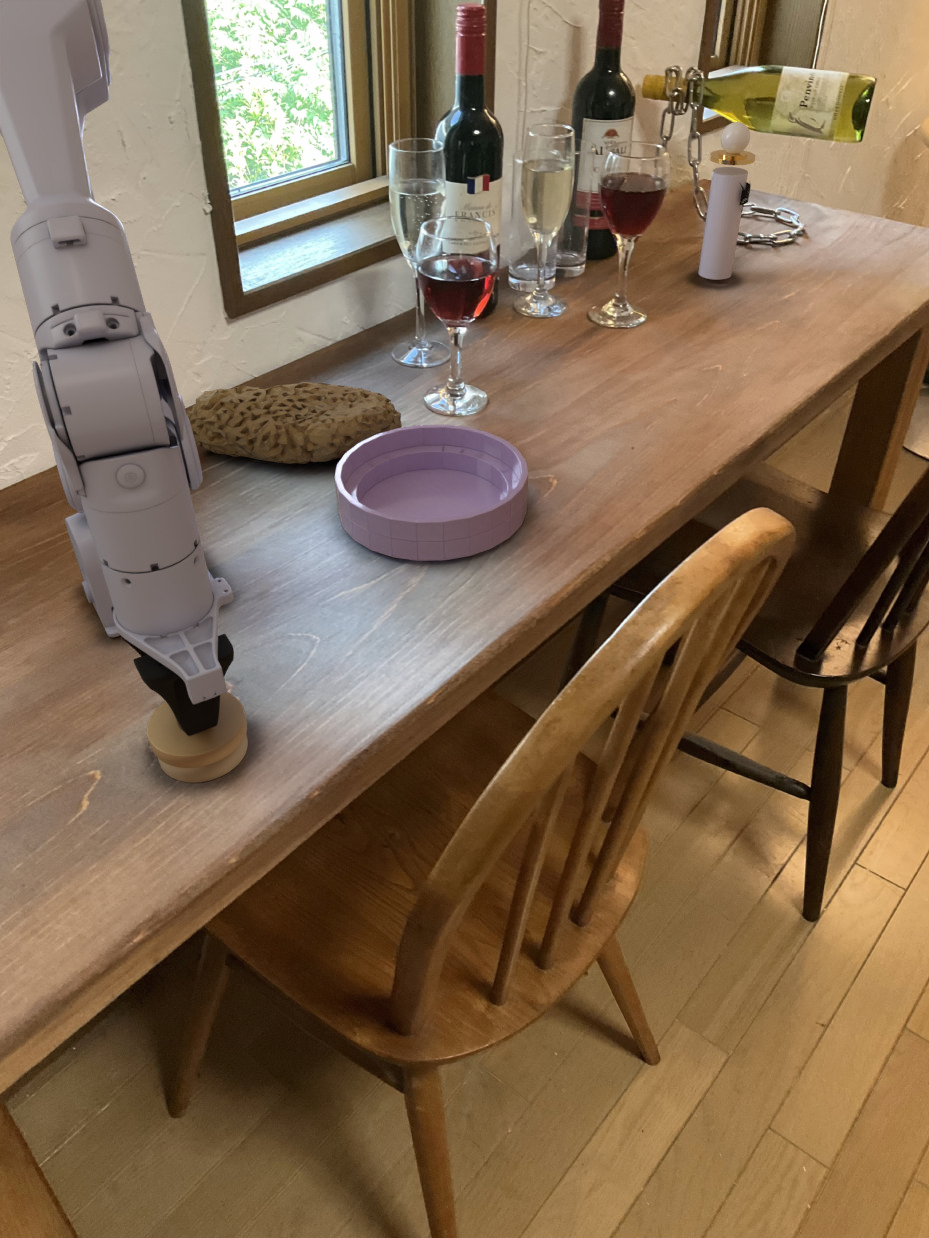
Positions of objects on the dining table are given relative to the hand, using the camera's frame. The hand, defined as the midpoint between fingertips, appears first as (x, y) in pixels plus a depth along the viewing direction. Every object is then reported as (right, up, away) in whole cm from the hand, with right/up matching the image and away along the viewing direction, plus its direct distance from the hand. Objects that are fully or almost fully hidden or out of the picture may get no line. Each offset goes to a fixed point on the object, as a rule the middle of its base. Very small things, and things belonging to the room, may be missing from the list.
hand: (194, 714), depth 64 cm
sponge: (+1, +23, +35) cm, 42 cm away
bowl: (+15, +16, +25) cm, 33 cm away
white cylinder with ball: (+53, +54, +71) cm, 104 cm away
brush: (0, -3, +2) cm, 3 cm away
